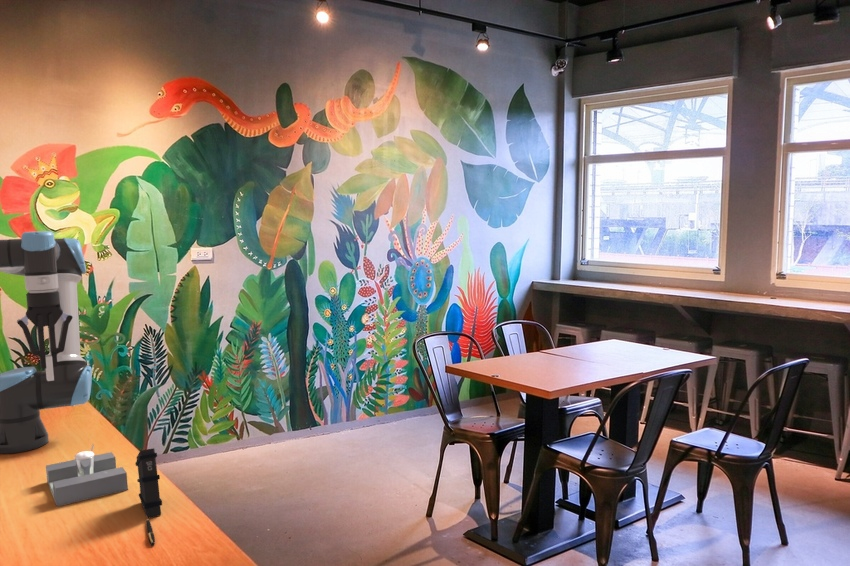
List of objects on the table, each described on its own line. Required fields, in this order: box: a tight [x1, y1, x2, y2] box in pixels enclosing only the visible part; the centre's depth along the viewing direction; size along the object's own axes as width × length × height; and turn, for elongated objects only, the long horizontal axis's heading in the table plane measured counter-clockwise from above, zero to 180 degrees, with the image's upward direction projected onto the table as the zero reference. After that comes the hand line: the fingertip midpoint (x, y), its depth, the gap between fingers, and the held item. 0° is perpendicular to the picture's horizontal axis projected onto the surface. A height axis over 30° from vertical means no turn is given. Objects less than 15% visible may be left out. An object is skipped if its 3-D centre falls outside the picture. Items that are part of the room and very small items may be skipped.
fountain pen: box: [145, 518, 156, 547], centre depth 152 cm, size 14×1×2 cm, turn 26°
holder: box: [45, 451, 129, 507], centre depth 179 cm, size 19×16×4 cm
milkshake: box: [74, 444, 95, 476], centre depth 179 cm, size 4×5×10 cm
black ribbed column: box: [134, 447, 163, 519], centre depth 164 cm, size 4×13×15 cm, turn 29°
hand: (50, 379), depth 184 cm, fingers closed
